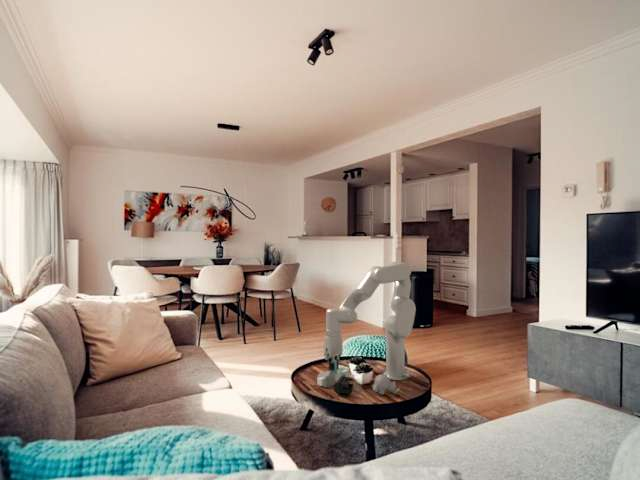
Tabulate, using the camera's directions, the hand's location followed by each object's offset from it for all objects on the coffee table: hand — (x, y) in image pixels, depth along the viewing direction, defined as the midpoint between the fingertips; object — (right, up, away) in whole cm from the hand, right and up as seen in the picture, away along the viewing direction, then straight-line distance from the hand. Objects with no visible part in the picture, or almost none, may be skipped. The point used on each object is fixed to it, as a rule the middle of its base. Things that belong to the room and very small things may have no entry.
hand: (333, 369), depth 197 cm
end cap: (+4, -6, -15) cm, 16 cm away
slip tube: (-3, -5, -3) cm, 7 cm away
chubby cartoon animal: (+24, -6, -16) cm, 29 cm away
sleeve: (-4, -6, -4) cm, 8 cm away
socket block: (+4, -6, +4) cm, 8 cm away
